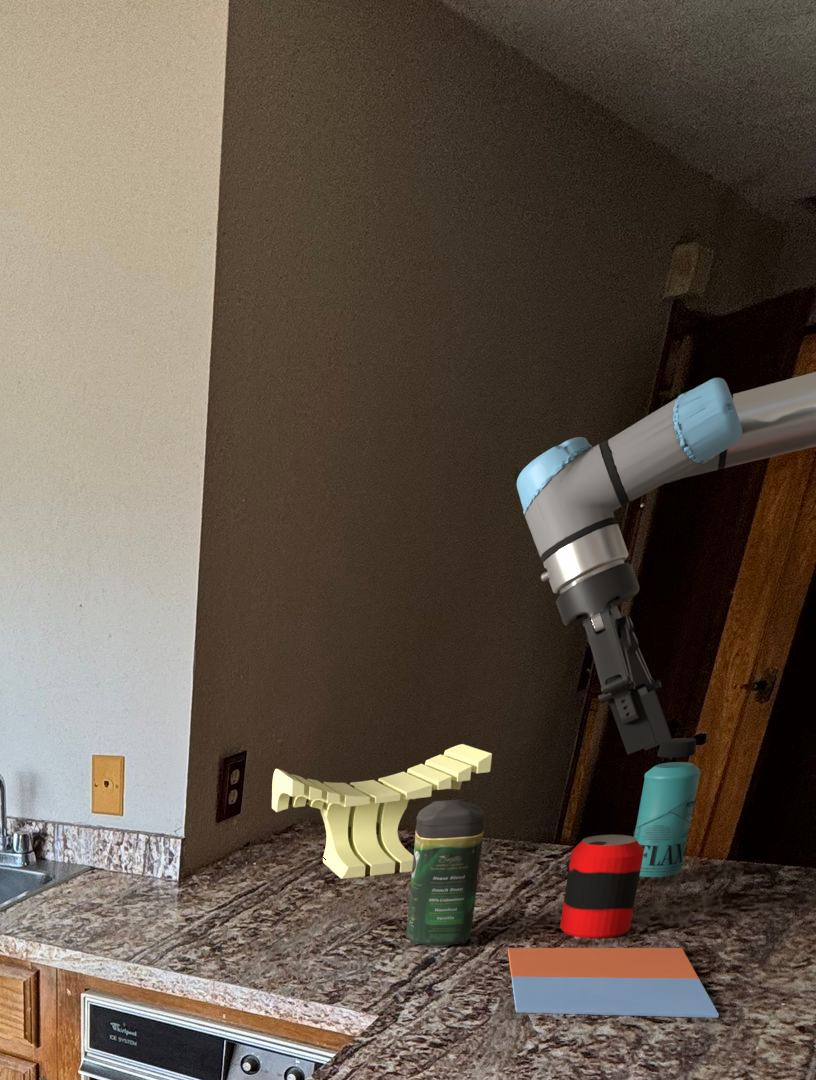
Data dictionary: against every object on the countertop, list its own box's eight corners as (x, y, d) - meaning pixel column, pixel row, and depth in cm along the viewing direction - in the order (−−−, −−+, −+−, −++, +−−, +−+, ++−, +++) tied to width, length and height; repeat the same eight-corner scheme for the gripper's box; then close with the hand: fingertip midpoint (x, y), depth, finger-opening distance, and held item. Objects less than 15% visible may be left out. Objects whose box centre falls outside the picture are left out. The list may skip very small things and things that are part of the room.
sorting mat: (681, 950, 122) (682, 947, 121) (718, 1018, 105) (719, 1014, 105) (507, 950, 130) (508, 947, 130) (515, 1012, 113) (516, 1009, 113)
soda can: (546, 932, 134) (559, 843, 129) (583, 918, 136) (597, 830, 131) (604, 942, 128) (620, 849, 123) (643, 928, 130) (660, 836, 125)
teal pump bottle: (623, 887, 145) (649, 745, 136) (624, 875, 150) (648, 737, 141) (681, 887, 141) (710, 741, 133) (680, 875, 146) (708, 733, 137)
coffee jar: (474, 948, 133) (490, 807, 125) (407, 949, 136) (419, 812, 128) (467, 926, 141) (482, 792, 133) (404, 928, 144) (415, 798, 136)
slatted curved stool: (445, 843, 180) (455, 741, 172) (479, 864, 166) (492, 753, 158) (270, 863, 186) (272, 765, 179) (289, 884, 172) (292, 779, 165)
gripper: (574, 604, 129) (629, 757, 129) (532, 590, 112) (594, 766, 113) (645, 568, 123) (701, 729, 124) (611, 548, 106) (676, 733, 107)
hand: (650, 747), depth 118 cm, fingers open, 13 cm apart
